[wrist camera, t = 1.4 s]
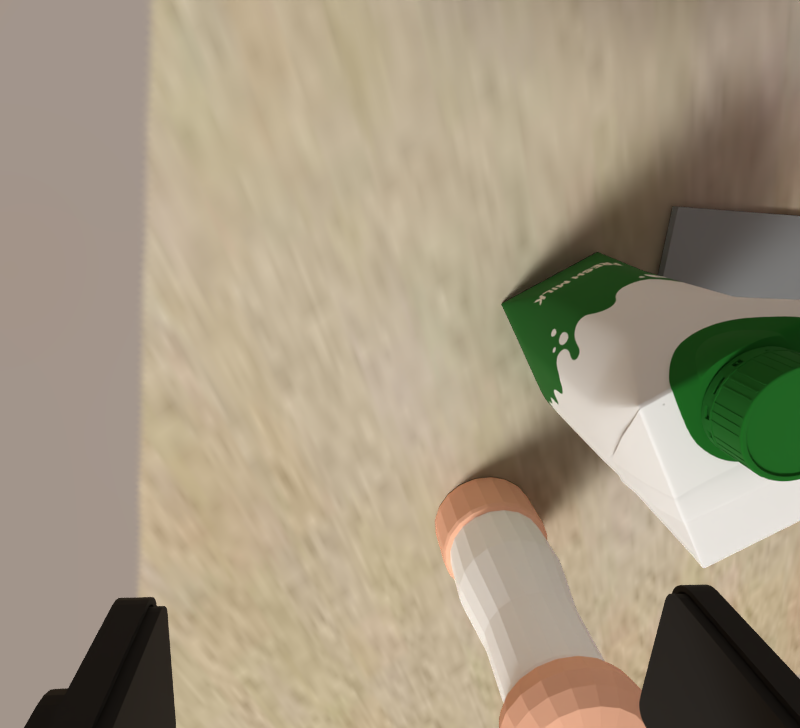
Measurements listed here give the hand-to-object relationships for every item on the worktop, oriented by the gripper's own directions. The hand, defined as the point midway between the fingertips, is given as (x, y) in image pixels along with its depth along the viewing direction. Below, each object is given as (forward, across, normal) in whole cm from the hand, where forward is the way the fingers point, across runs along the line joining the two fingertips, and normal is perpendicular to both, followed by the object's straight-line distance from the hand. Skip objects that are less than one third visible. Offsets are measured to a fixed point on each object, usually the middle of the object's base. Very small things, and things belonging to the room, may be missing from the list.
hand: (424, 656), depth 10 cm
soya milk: (+27, -14, 0) cm, 30 cm away
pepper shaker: (+27, -10, +15) cm, 32 cm away
